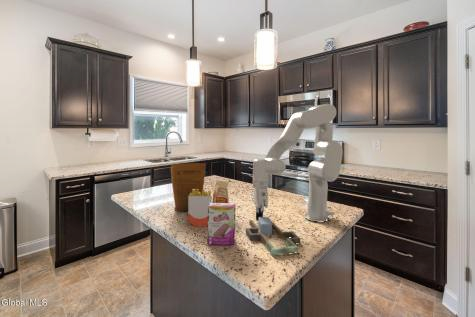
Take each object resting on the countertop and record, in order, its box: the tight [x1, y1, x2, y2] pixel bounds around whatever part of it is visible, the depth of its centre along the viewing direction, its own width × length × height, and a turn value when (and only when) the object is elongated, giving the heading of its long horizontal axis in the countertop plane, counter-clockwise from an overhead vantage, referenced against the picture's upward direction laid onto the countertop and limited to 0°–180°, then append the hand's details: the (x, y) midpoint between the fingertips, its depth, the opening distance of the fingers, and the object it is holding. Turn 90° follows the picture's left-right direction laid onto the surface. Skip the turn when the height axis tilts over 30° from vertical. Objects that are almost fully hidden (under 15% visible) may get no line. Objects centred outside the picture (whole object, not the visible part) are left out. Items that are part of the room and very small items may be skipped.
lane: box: [245, 219, 301, 257], centre depth 106 cm, size 19×31×2 cm, turn 13°
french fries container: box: [187, 188, 213, 227], centre depth 118 cm, size 5×11×18 cm, turn 91°
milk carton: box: [212, 179, 230, 203], centre depth 131 cm, size 9×9×20 cm
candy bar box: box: [206, 202, 237, 246], centre depth 99 cm, size 11×5×16 cm, turn 92°
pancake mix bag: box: [170, 162, 206, 213], centre depth 138 cm, size 7×19×28 cm, turn 96°
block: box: [257, 216, 273, 236], centre depth 113 cm, size 5×9×5 cm, turn 2°
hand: (259, 219), depth 121 cm, fingers closed
